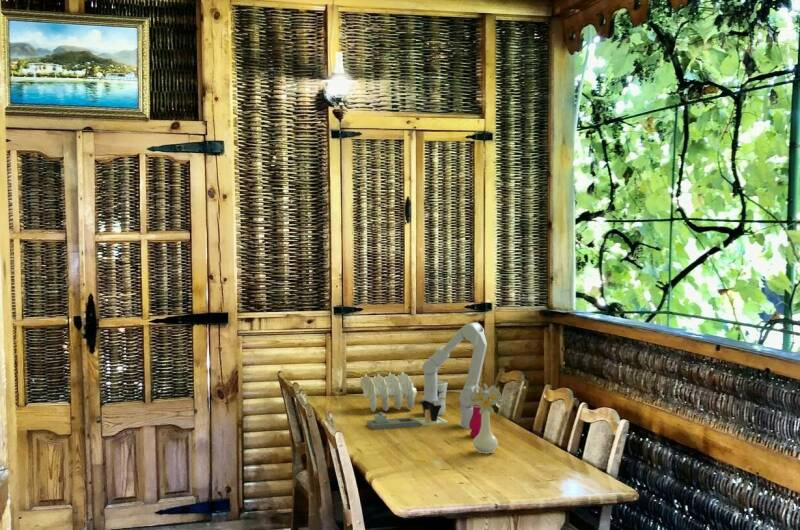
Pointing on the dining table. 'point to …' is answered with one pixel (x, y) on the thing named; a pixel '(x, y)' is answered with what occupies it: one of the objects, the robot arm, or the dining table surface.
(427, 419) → the orange plug
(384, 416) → the seated twin plug
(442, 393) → the mug
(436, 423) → the tray
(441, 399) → the teacup
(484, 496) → the dining table surface
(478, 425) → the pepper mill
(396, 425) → the grey socket board
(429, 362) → the robot arm
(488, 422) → the flower vase
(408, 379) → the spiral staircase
